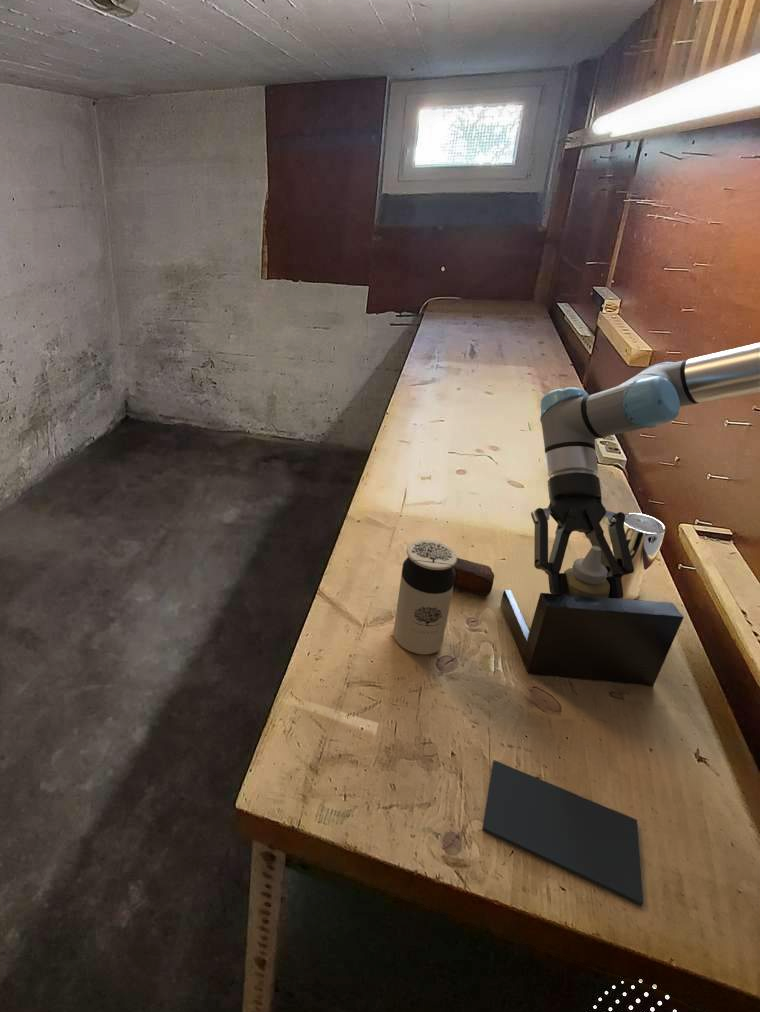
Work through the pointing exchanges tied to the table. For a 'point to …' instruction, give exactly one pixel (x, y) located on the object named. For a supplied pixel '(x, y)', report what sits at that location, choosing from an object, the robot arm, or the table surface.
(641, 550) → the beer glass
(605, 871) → the mat
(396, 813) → the table surface
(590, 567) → the squeeze bottle
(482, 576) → the brick
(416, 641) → the travel mug
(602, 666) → the black angular stand
